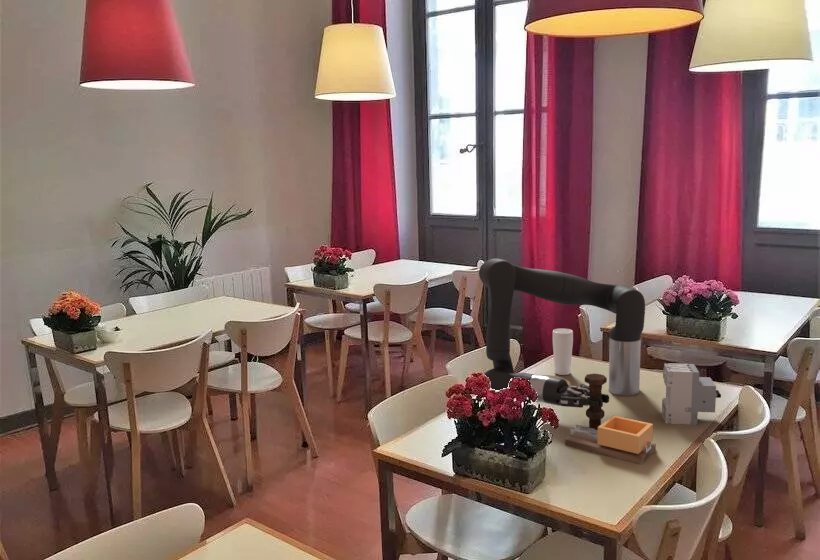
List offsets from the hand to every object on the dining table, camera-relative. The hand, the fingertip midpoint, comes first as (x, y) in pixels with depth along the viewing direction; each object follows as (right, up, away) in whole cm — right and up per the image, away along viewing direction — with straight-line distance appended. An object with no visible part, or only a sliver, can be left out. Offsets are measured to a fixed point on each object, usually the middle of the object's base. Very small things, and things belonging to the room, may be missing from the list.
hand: (605, 401), depth 187 cm
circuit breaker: (+26, -7, +8) cm, 28 cm away
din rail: (-1, -9, -9) cm, 13 cm away
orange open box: (+2, -8, -11) cm, 14 cm away
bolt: (-2, -8, +3) cm, 9 cm away
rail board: (-1, -10, -9) cm, 13 cm away
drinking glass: (0, +1, +51) cm, 51 cm away
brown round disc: (-10, -3, +34) cm, 36 cm away
